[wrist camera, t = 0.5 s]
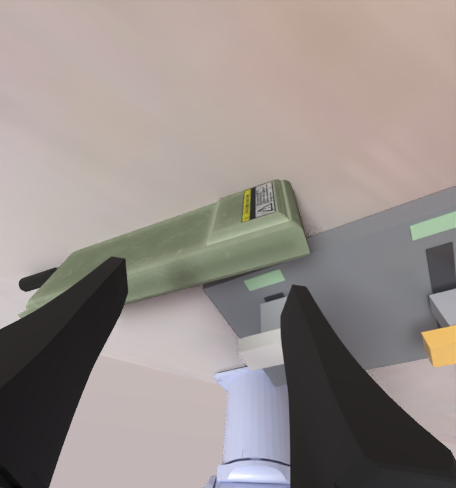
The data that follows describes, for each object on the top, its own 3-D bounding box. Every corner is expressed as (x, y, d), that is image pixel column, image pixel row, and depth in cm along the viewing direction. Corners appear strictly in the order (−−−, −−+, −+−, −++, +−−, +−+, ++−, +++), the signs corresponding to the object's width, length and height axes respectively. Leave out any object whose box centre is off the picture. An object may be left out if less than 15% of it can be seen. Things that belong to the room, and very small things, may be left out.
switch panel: (502, 322, 26) (519, 341, 24) (274, 369, 33) (275, 387, 31) (506, 168, 18) (532, 181, 16) (206, 273, 25) (202, 290, 23)
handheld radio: (299, 210, 21) (46, 288, 28) (286, 169, 20) (22, 263, 27) (314, 265, 16) (-6, 346, 23) (298, 215, 14) (-41, 318, 21)
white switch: (319, 307, 23) (330, 353, 20) (251, 325, 25) (251, 370, 22) (310, 287, 22) (320, 333, 19) (239, 308, 24) (237, 353, 21)
